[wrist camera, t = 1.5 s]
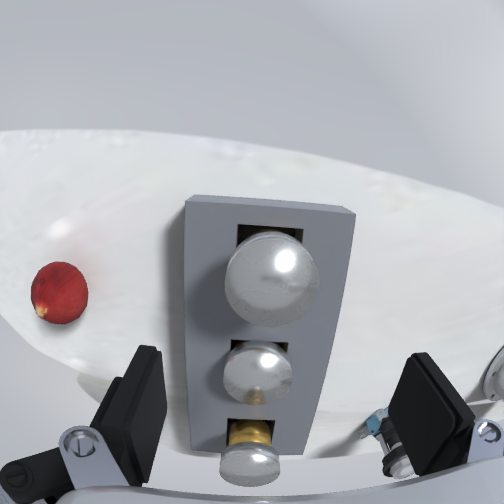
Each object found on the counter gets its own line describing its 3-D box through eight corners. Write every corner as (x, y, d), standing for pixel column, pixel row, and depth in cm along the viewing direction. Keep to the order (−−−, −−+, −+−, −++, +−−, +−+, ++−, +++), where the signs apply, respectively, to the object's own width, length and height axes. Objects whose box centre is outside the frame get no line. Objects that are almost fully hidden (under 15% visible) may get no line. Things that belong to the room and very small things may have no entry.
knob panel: (342, 206, 28) (356, 214, 24) (299, 431, 36) (302, 454, 32) (194, 194, 27) (185, 200, 23) (195, 426, 35) (191, 449, 31)
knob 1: (308, 222, 24) (325, 243, 19) (299, 292, 26) (312, 329, 20) (232, 216, 24) (227, 236, 19) (228, 287, 26) (222, 324, 20)
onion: (53, 292, 30) (12, 325, 22) (58, 244, 28) (12, 270, 21) (96, 311, 31) (61, 352, 23) (105, 263, 29) (65, 296, 21)
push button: (365, 437, 36) (384, 492, 27) (348, 421, 35) (367, 481, 26) (406, 411, 35) (433, 464, 26) (392, 393, 34) (421, 450, 25)
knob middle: (289, 319, 30) (297, 355, 24) (282, 367, 32) (287, 406, 26) (228, 315, 30) (224, 351, 24) (226, 364, 32) (222, 403, 26)
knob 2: (279, 414, 30) (283, 457, 24) (273, 446, 32) (275, 487, 26) (223, 411, 30) (219, 455, 24) (222, 444, 32) (219, 485, 26)
